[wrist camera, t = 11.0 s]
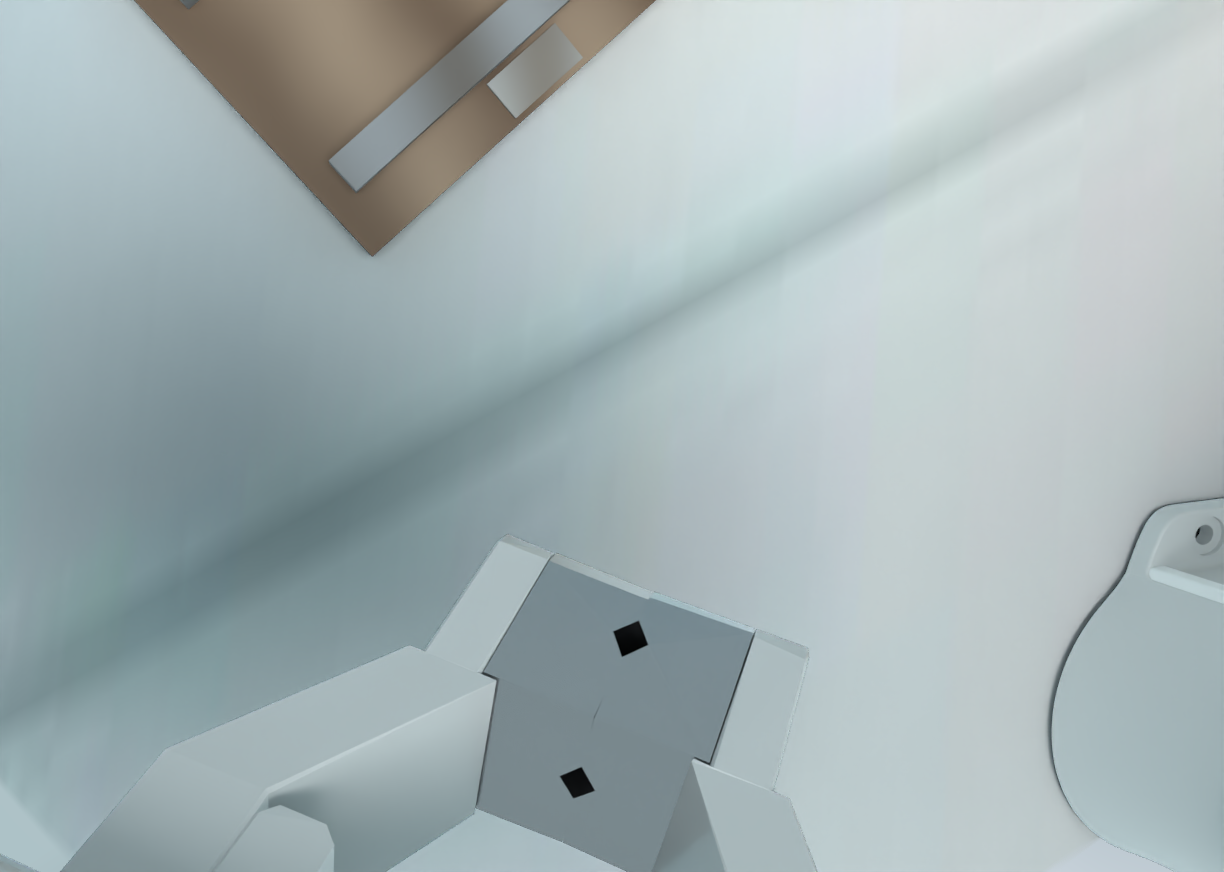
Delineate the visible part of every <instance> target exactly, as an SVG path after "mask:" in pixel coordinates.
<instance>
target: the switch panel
mask: <svg viewBox="0 0 1224 872" xmlns="http://www.w3.org/2000/svg"><path fill="white" fill-rule="evenodd" d="M134 1H135V2H136V3H137V4H138V5H139V6H140V7H141V8H142V9H143V11H144V12H145V13H146V14H147V15H148V16H149V17H150V18H151V19H152V20H153V21H154V22H155V23H156V25H157V26H158V27H159V28H160V29H161V30H162V31H163V32H164V33H165V34H166V35H167V36H168V37H169V39H170V40H171V41H172V42H173V43H174V44H175V45H176V46H177V47H178V48H179V49H180V50H181V51H182V53H183V54H184V55H185V56H186V57H187V58H188V59H189V60H190V61H191V62H192V63H193V64H194V65H195V67H196V68H197V69H198V70H199V71H200V72H201V73H202V74H203V75H204V76H205V77H206V78H207V79H208V81H209V82H210V83H211V84H212V85H213V86H214V87H215V88H216V89H217V90H218V91H219V92H220V93H221V95H222V96H223V97H224V98H225V99H226V100H227V101H228V102H229V103H230V104H231V105H232V106H233V107H234V109H235V110H236V111H237V112H238V113H239V114H240V115H241V116H242V117H243V118H244V119H245V120H246V121H247V123H248V124H249V125H250V126H251V127H252V128H253V129H254V130H255V131H256V132H257V133H258V134H259V135H260V137H261V138H262V139H263V140H264V141H265V142H266V143H267V144H268V145H269V146H270V147H271V148H272V149H273V151H274V152H275V153H276V154H277V155H278V156H279V157H280V158H281V159H282V160H283V161H284V162H285V163H286V165H287V166H288V167H289V168H290V169H291V170H292V171H293V172H294V173H295V174H296V175H297V176H298V177H299V179H300V180H301V181H302V182H303V183H304V184H305V185H306V186H307V187H308V188H309V189H310V190H311V191H312V193H313V194H314V195H315V196H316V197H317V198H318V199H319V200H320V201H321V202H322V203H323V204H324V205H325V207H326V208H327V209H328V210H329V211H330V212H331V213H332V214H333V215H334V216H335V217H336V218H337V219H338V221H339V222H340V223H341V224H342V225H343V226H344V227H345V228H346V229H347V230H348V231H349V232H350V233H351V235H352V236H353V237H354V238H355V239H356V240H357V241H358V242H359V243H360V244H361V245H362V246H363V247H364V249H365V250H366V251H367V252H368V253H369V254H370V255H371V256H374V255H375V254H376V253H377V252H378V251H379V250H380V249H381V248H382V247H384V246H385V245H386V244H387V243H388V242H389V241H390V240H391V239H392V238H393V237H395V236H396V235H397V234H398V233H399V232H400V231H401V230H402V229H403V228H405V227H406V226H407V225H408V224H409V223H410V222H411V221H412V220H413V219H414V218H416V217H417V216H418V215H419V214H420V213H421V212H422V211H423V210H424V209H426V208H427V207H428V206H429V205H430V204H431V203H432V202H433V201H434V200H435V199H437V198H438V197H439V196H440V195H441V194H442V193H443V192H444V191H445V190H447V189H448V188H449V187H450V186H451V185H452V184H453V183H454V182H455V181H456V180H458V179H459V178H460V177H461V176H462V175H463V174H464V173H465V172H466V171H468V170H469V169H470V168H471V167H472V166H473V165H474V164H475V163H476V162H477V161H479V160H480V159H481V158H482V157H483V156H484V155H485V154H486V153H487V152H489V151H490V150H491V149H492V148H493V147H494V146H495V145H496V144H497V143H498V142H500V141H501V140H502V139H503V138H504V137H505V136H506V135H507V134H508V133H510V132H511V131H512V130H513V129H514V128H515V127H516V126H517V125H518V124H519V123H521V122H522V121H523V120H524V119H525V118H526V117H527V116H528V115H529V114H531V113H532V112H533V111H534V110H535V109H536V108H537V107H538V106H539V105H540V104H542V103H543V102H544V101H545V100H546V99H547V98H548V97H549V96H550V95H552V94H553V93H554V92H555V91H556V90H557V89H558V88H559V87H560V86H561V85H563V84H564V83H565V82H566V81H567V80H568V79H569V78H570V77H571V76H573V75H574V74H575V73H576V72H577V71H578V70H579V69H580V68H581V67H582V66H584V65H585V64H586V63H587V62H588V61H589V60H590V59H591V58H592V57H594V56H595V55H596V54H597V53H598V52H599V51H600V50H601V49H602V48H603V47H605V46H606V45H607V44H608V43H609V42H610V41H611V40H612V39H613V38H615V37H616V36H617V35H618V34H619V33H620V32H621V31H622V30H623V29H624V28H626V27H627V26H628V25H629V24H630V23H631V22H632V21H633V20H634V19H636V18H637V17H638V16H639V15H640V14H641V13H642V12H643V11H644V10H645V9H647V8H648V7H649V6H650V5H651V4H652V3H653V2H654V1H655V0H134Z"/></svg>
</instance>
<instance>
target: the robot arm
mask: <svg viewBox="0 0 1224 872" xmlns="http://www.w3.org/2000/svg"><path fill="white" fill-rule="evenodd" d="M1199 527H1200V533H1199V535H1198V536H1197V538H1195V535H1196V532H1197V530H1198V528H1199ZM754 629H755V628H752V627H750V626H747V625H744V624H741V623H739V622H736V621H733V620H731V619H728V618H725V617H722V616H720V615H717V614H714V613H712V612H709V611H706V610H703V609H701V608H698V607H695V606H692V605H690V604H687V603H684V602H682V601H679V600H676V599H673V598H671V597H668V596H665V595H662V594H660V593H657V592H652V591H650V590H647V589H645V588H642V587H640V586H637V585H635V584H632V583H630V582H627V581H625V580H622V579H620V578H617V577H615V576H613V575H610V574H608V573H605V572H603V571H600V570H598V569H595V568H593V567H590V566H588V565H585V564H583V563H581V562H578V561H576V560H573V559H571V558H568V557H566V556H563V555H561V554H558V553H556V554H555V553H553V552H550V551H548V550H546V549H543V548H541V547H538V546H536V545H533V544H531V543H528V542H526V541H524V540H521V539H519V538H516V537H514V536H511V535H509V534H507V535H505V536H504V537H503V538H501V539H500V540H499V541H498V542H496V543H495V545H494V546H493V548H492V549H491V551H490V552H489V553H488V555H487V556H486V558H485V559H484V561H483V562H482V564H481V565H480V567H479V568H478V570H477V571H476V573H475V574H474V576H473V577H472V579H471V580H470V582H469V583H468V585H467V586H466V588H465V589H464V591H463V592H462V594H461V595H460V597H459V598H458V600H457V601H456V603H455V604H454V606H453V607H452V609H451V610H450V612H449V613H448V615H447V616H446V618H445V619H444V621H443V622H442V624H441V625H440V627H439V628H438V630H437V631H436V633H435V634H434V635H433V637H432V638H431V640H430V641H429V643H428V644H427V646H426V647H425V649H424V650H421V649H418V648H416V647H413V646H410V645H408V646H405V647H403V648H401V649H398V650H396V651H394V652H391V653H389V654H386V655H384V656H382V657H379V658H377V659H375V660H372V661H370V662H368V663H365V664H363V665H361V666H358V667H356V668H354V669H351V670H349V671H347V672H344V673H342V674H339V675H337V676H335V677H332V678H330V679H328V680H325V681H323V682H321V683H318V684H316V685H314V686H311V687H309V688H307V689H304V690H302V691H300V692H297V693H295V694H293V695H290V696H288V697H285V698H283V699H281V700H278V701H276V702H274V703H271V704H269V705H267V706H264V707H262V708H260V709H257V710H255V711H253V712H250V713H248V714H246V715H243V716H241V717H238V718H236V719H234V720H231V721H229V722H227V723H224V724H222V725H220V726H217V727H215V728H213V729H210V730H208V731H206V732H203V733H201V734H199V735H196V736H194V737H191V738H189V739H187V740H184V741H182V742H180V743H177V744H175V745H173V746H170V747H168V748H166V749H165V750H164V751H163V752H162V753H161V754H160V756H159V757H158V758H157V759H156V760H155V761H154V763H153V764H152V765H151V766H150V767H149V768H148V770H147V771H146V772H145V773H144V774H143V775H142V777H141V778H140V779H139V780H138V781H137V782H136V784H135V785H134V786H133V787H132V788H131V789H130V791H129V792H128V793H127V794H126V795H125V796H124V798H123V799H122V800H121V801H120V802H119V803H118V805H117V806H116V807H115V808H114V809H113V810H112V812H111V813H110V814H109V815H108V816H107V818H106V819H105V820H104V821H103V822H102V823H101V825H100V826H99V827H98V828H97V829H96V830H95V832H94V833H93V834H92V835H91V836H90V837H89V839H88V840H87V841H86V842H85V843H84V844H83V846H82V847H81V848H80V849H79V850H78V851H77V853H76V854H75V855H74V856H73V857H72V858H71V860H70V861H69V862H68V863H67V864H66V865H65V867H64V868H63V869H62V870H61V871H60V872H386V871H388V870H389V869H391V868H392V867H394V866H395V865H397V864H398V863H400V862H401V861H403V860H405V859H406V858H408V857H409V856H411V855H412V854H414V853H415V852H417V851H418V850H420V849H421V848H423V847H424V846H426V845H427V844H429V843H430V842H432V841H433V840H435V839H437V838H438V837H440V836H441V835H443V834H444V833H446V832H447V831H449V830H450V829H452V828H453V827H455V826H456V825H458V824H459V823H461V822H462V821H464V820H465V819H467V818H469V817H470V816H472V815H473V814H474V812H475V808H477V809H479V810H482V811H485V812H487V813H490V814H492V815H495V816H497V817H500V818H502V819H505V820H507V821H510V822H513V823H515V824H518V825H520V826H523V827H525V828H528V829H530V830H533V831H536V832H538V833H541V834H543V835H546V836H548V837H551V838H553V839H556V840H558V841H561V842H562V841H563V843H565V844H568V845H570V846H572V847H574V848H576V849H579V850H581V851H583V852H585V853H587V854H590V855H592V856H594V857H596V858H598V859H601V860H603V861H605V862H607V863H609V864H612V865H614V866H616V867H618V868H620V869H623V870H625V871H627V872H818V871H817V869H816V866H815V864H814V861H813V858H812V856H811V853H810V851H809V848H808V845H807V843H806V840H805V837H804V835H803V832H802V830H801V827H800V824H799V822H798V819H797V817H796V814H795V811H794V809H793V806H792V803H791V801H790V798H788V797H786V796H783V795H781V794H779V793H776V792H774V787H775V783H776V780H777V776H778V772H779V768H780V765H781V761H782V757H783V754H784V750H785V746H786V742H787V739H788V735H789V731H790V727H791V724H792V720H793V716H794V713H795V709H796V705H797V701H798V698H799V694H800V690H801V687H802V683H803V679H804V675H805V672H806V668H807V664H808V660H809V652H808V648H807V647H805V646H802V645H799V644H796V643H794V642H791V641H788V640H785V639H783V638H780V637H777V636H774V635H772V634H769V633H766V632H764V631H761V630H758V629H756V631H755V632H754ZM753 633H754V634H753ZM1052 751H1053V758H1054V764H1055V768H1056V772H1057V776H1058V779H1059V782H1060V785H1061V787H1062V790H1063V792H1064V794H1065V796H1066V798H1067V800H1068V802H1069V804H1070V806H1071V807H1072V809H1073V810H1074V812H1075V813H1076V814H1077V816H1078V817H1079V818H1080V819H1081V821H1082V822H1083V823H1084V824H1085V825H1086V826H1087V827H1088V828H1089V829H1090V830H1091V831H1092V832H1094V833H1095V834H1096V835H1097V836H1098V837H1100V838H1101V839H1103V840H1105V841H1106V842H1108V843H1110V844H1111V845H1114V846H1115V847H1117V848H1120V849H1123V850H1125V851H1127V852H1130V853H1133V854H1136V855H1139V856H1141V857H1143V858H1146V859H1149V860H1151V861H1153V862H1156V863H1158V864H1160V865H1162V866H1164V867H1166V868H1168V869H1170V870H1172V871H1174V872H1224V498H1220V499H1212V500H1205V501H1197V502H1189V503H1181V504H1173V505H1168V506H1164V507H1162V508H1160V509H1159V510H1157V511H1156V512H1155V513H1154V514H1152V516H1151V517H1150V518H1149V519H1148V521H1147V523H1146V524H1145V526H1144V528H1143V530H1142V532H1141V534H1140V536H1139V539H1138V541H1137V543H1136V546H1135V549H1134V551H1133V554H1132V557H1131V559H1130V562H1129V565H1128V568H1127V571H1126V573H1125V575H1124V576H1123V578H1122V579H1121V581H1120V582H1119V584H1118V585H1117V586H1116V588H1115V589H1114V590H1113V592H1112V593H1111V594H1110V595H1109V596H1108V598H1107V599H1106V600H1105V601H1104V602H1103V604H1102V605H1101V606H1100V607H1099V608H1098V610H1097V611H1096V612H1095V613H1094V615H1093V616H1092V617H1091V619H1090V620H1089V621H1088V623H1087V624H1086V626H1085V627H1084V629H1083V631H1082V632H1081V634H1080V636H1079V637H1078V639H1077V641H1076V643H1075V644H1074V646H1073V648H1072V650H1071V652H1070V654H1069V657H1068V659H1067V661H1066V664H1065V666H1064V669H1063V672H1062V675H1061V678H1060V681H1059V684H1058V688H1057V692H1056V697H1055V702H1054V708H1053V715H1052ZM0 872H39V871H37V870H34V869H32V868H30V867H28V866H26V865H24V864H22V863H20V862H17V861H15V860H13V859H11V858H9V857H7V856H5V855H2V854H0Z"/></svg>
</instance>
